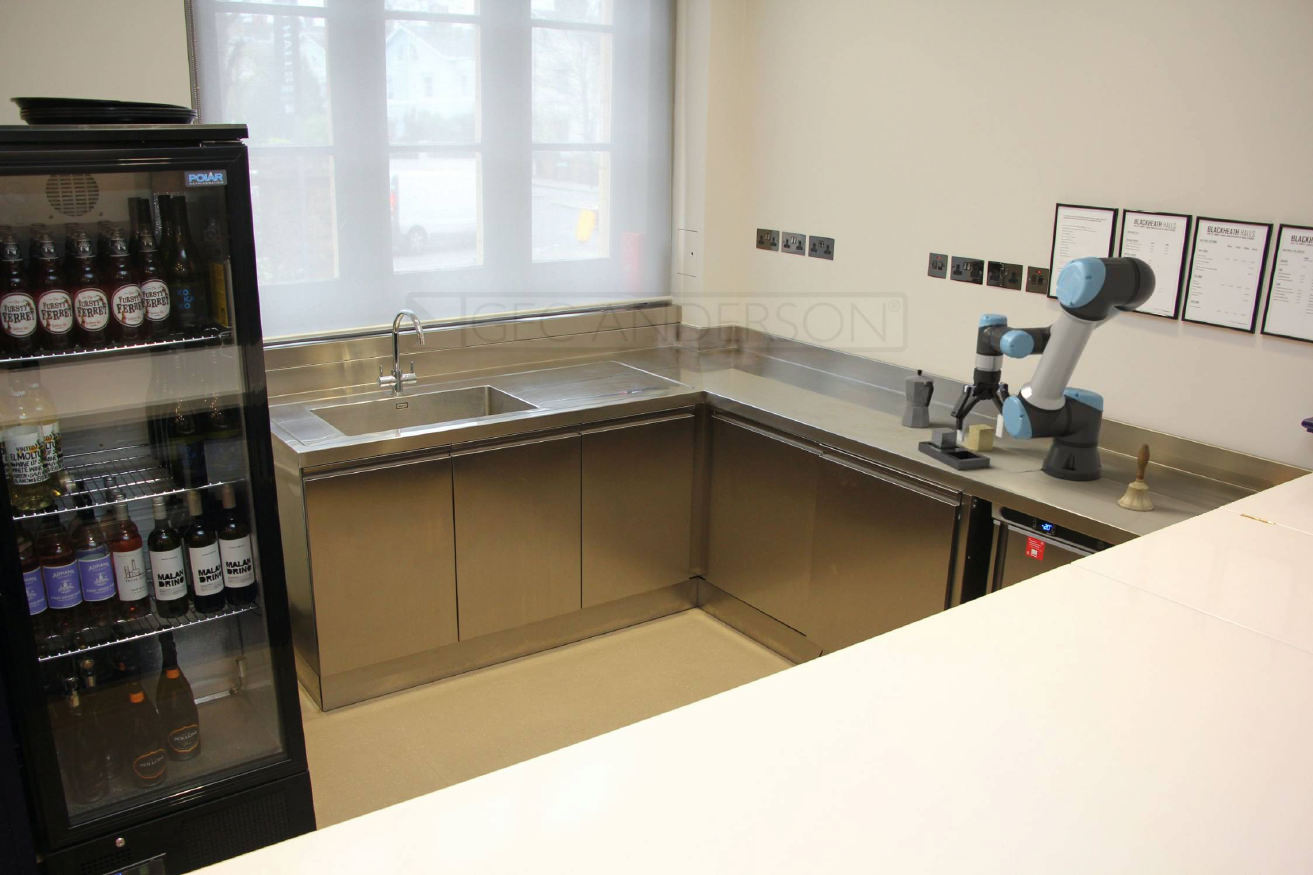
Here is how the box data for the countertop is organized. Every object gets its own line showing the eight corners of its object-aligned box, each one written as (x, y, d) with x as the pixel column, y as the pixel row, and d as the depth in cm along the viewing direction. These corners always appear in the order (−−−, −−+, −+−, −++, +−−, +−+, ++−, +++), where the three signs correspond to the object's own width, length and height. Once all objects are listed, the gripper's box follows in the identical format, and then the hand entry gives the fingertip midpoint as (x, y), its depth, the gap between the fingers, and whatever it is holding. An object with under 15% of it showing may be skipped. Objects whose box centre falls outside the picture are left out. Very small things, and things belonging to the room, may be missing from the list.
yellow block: (992, 451, 297) (994, 428, 295) (977, 452, 295) (979, 429, 293) (981, 446, 301) (984, 424, 300) (967, 448, 300) (969, 425, 298)
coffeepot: (892, 420, 330) (896, 366, 325) (918, 418, 332) (923, 364, 327) (915, 432, 316) (919, 376, 311) (942, 430, 318) (947, 374, 313)
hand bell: (1151, 502, 255) (1160, 441, 251) (1155, 513, 247) (1165, 450, 243) (1115, 498, 258) (1124, 438, 253) (1118, 509, 250) (1127, 447, 246)
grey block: (955, 455, 291) (957, 431, 289) (940, 456, 289) (942, 433, 287) (945, 450, 295) (947, 427, 293) (930, 451, 294) (932, 428, 292)
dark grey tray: (989, 469, 280) (990, 458, 279) (957, 472, 277) (959, 461, 276) (947, 449, 298) (948, 439, 298) (917, 451, 295) (918, 442, 295)
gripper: (1016, 362, 299) (1007, 431, 305) (943, 367, 291) (936, 438, 298) (1032, 368, 292) (1023, 438, 298) (958, 373, 285) (950, 445, 291)
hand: (979, 438), depth 298 cm, fingers open, 13 cm apart
